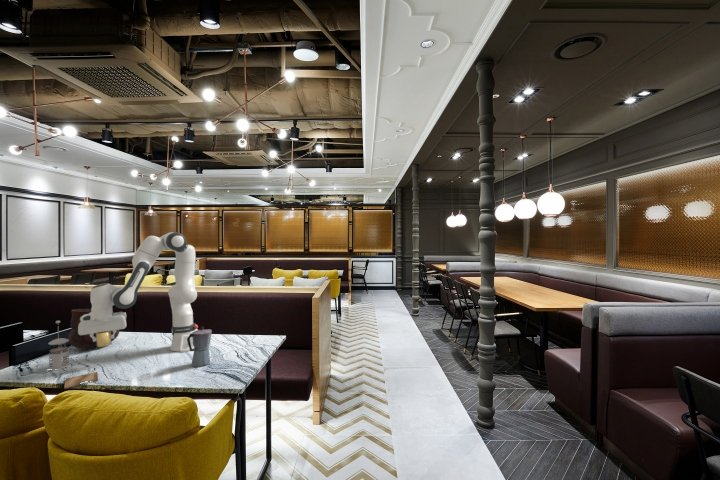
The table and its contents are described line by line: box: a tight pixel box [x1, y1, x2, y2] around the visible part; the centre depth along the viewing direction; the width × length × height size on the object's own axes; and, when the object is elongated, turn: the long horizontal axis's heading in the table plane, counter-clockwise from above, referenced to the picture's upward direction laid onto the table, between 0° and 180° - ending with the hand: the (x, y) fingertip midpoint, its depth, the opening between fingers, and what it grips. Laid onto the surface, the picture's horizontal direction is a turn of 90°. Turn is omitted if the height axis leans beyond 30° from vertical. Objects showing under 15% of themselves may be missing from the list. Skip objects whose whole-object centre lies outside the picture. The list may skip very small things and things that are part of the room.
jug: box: [67, 308, 120, 350], centre depth 204 cm, size 25×25×25 cm
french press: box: [47, 320, 72, 370], centre depth 173 cm, size 10×12×25 cm
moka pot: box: [187, 326, 213, 367], centre depth 174 cm, size 10×15×20 cm, turn 161°
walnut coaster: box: [63, 371, 99, 389], centre depth 157 cm, size 12×12×1 cm
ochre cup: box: [96, 331, 112, 348], centre depth 173 cm, size 6×6×7 cm
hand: (103, 339), depth 174 cm, fingers closed on ochre cup, 6 cm apart
